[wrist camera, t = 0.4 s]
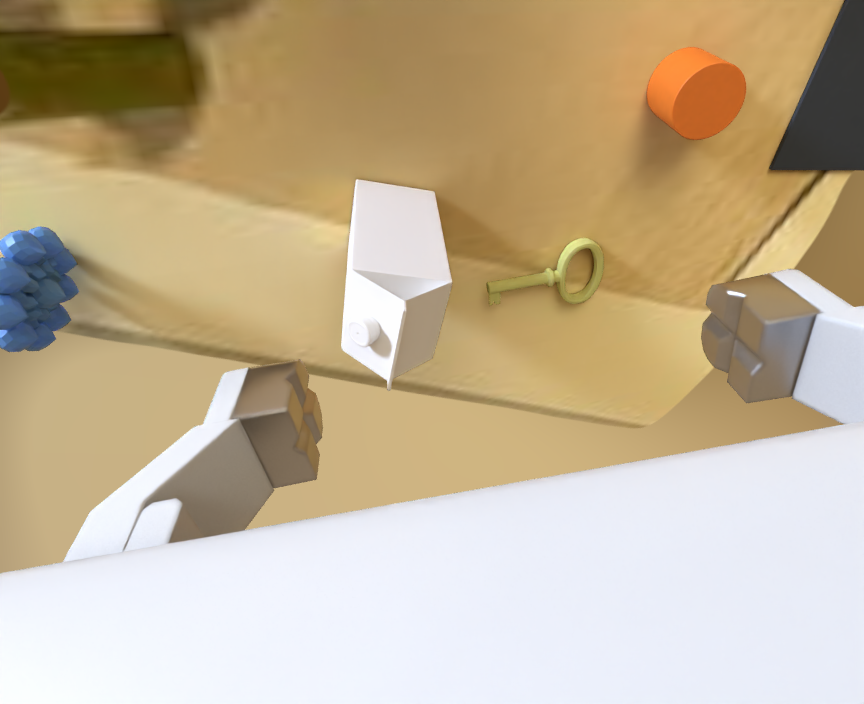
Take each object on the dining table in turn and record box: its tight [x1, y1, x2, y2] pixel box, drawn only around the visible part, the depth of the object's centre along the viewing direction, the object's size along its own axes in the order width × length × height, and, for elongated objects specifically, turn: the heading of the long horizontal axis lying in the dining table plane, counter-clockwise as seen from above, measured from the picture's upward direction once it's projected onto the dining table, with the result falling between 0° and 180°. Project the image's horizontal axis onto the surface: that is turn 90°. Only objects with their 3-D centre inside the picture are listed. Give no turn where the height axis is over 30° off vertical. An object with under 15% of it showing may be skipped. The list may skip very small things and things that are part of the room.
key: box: [487, 238, 604, 305], centre depth 55 cm, size 7×12×2 cm, turn 113°
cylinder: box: [647, 47, 746, 140], centre depth 42 cm, size 6×6×5 cm
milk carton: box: [341, 179, 452, 391], centre depth 43 cm, size 7×7×19 cm
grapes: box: [0, 227, 79, 352], centre depth 45 cm, size 12×7×12 cm, turn 163°
